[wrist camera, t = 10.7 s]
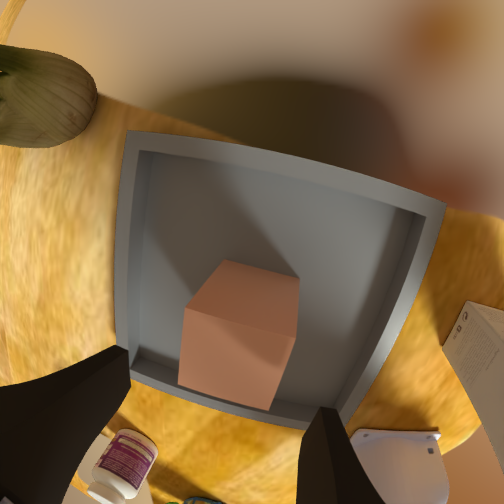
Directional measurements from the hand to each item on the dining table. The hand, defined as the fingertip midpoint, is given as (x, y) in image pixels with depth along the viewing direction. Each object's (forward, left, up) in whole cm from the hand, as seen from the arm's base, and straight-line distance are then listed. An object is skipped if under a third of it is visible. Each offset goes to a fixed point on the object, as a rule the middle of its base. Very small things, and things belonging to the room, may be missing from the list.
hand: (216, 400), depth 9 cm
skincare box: (-17, -1, -9) cm, 19 cm away
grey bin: (0, 0, -9) cm, 9 cm away
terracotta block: (0, 0, -8) cm, 8 cm away
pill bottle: (+9, +23, -9) cm, 26 cm away
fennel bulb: (+15, -10, -9) cm, 20 cm away
